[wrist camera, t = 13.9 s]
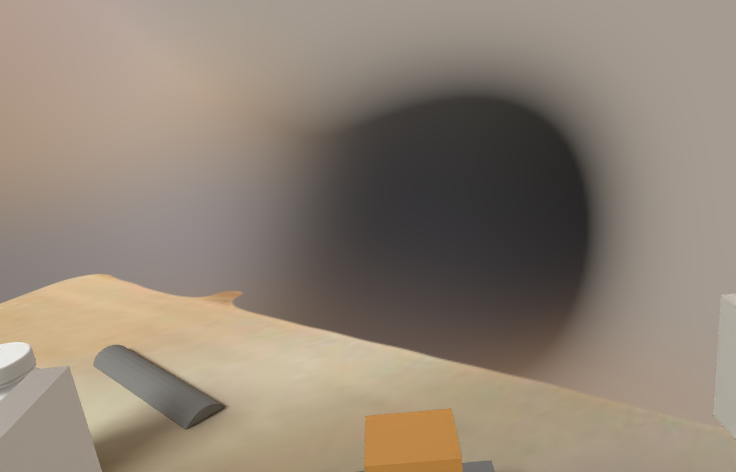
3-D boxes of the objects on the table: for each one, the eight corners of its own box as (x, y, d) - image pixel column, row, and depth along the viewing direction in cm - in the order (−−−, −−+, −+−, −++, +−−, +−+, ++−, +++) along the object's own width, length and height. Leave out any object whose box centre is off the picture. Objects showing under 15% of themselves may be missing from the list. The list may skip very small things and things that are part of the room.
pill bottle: (101, 465, 45) (63, 339, 42) (33, 526, 40) (-16, 386, 37) (42, 454, 48) (1, 333, 44) (-29, 510, 42) (-82, 377, 39)
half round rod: (187, 437, 49) (183, 419, 48) (91, 369, 62) (87, 355, 61) (230, 412, 52) (226, 395, 51) (130, 352, 65) (126, 338, 64)
